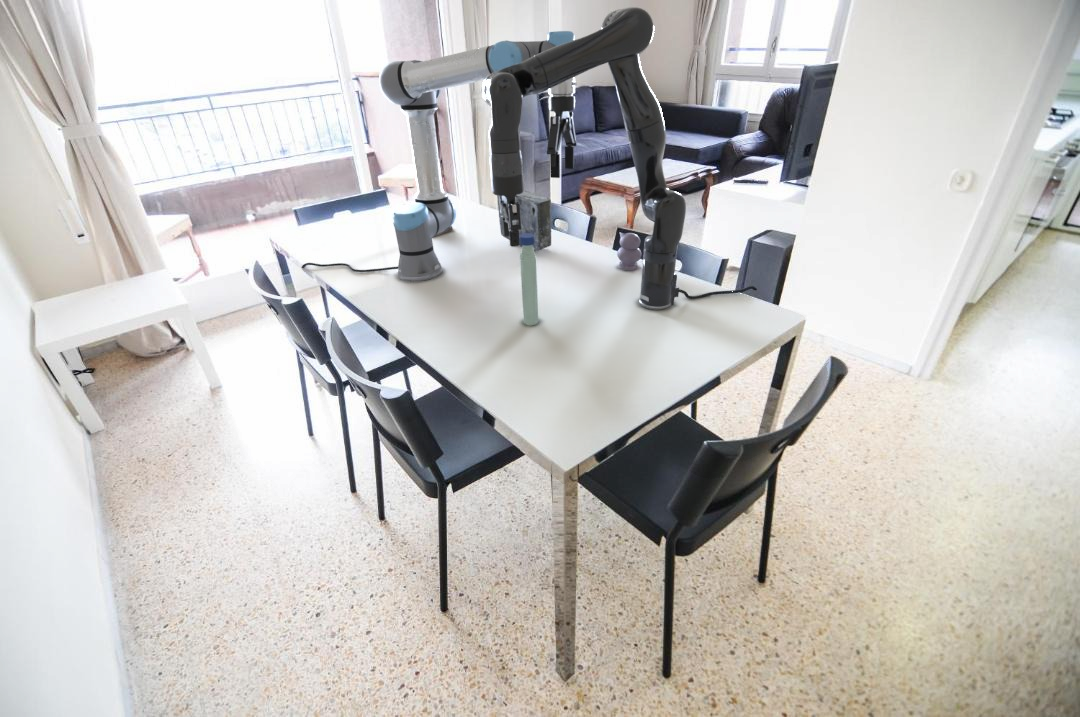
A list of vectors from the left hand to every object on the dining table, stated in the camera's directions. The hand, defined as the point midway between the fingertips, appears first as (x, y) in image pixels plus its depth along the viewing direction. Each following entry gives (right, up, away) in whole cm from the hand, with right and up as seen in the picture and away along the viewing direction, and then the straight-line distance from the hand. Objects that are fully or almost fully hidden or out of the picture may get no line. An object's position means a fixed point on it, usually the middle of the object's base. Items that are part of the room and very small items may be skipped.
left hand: (562, 173), depth 154 cm
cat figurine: (+24, -25, +21) cm, 41 cm away
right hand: (-14, -28, -31) cm, 44 cm away
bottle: (-10, -47, -12) cm, 49 cm away
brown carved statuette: (-51, -2, +63) cm, 81 cm away
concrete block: (-12, -13, +44) cm, 47 cm away
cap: (-10, -26, -25) cm, 37 cm away
